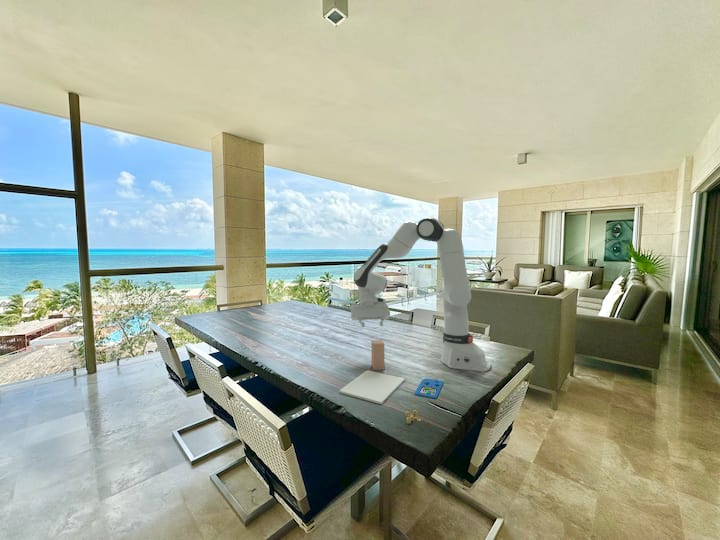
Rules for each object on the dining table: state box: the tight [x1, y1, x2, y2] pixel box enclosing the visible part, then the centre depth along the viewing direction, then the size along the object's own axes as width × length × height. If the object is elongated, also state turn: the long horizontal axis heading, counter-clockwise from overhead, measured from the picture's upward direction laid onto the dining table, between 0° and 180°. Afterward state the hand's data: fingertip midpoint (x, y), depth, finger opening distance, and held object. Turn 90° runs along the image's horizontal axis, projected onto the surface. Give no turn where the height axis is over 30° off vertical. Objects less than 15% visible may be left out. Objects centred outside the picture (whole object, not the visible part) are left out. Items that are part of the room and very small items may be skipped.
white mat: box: [338, 370, 406, 405], centre depth 117 cm, size 18×22×1 cm
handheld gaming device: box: [413, 378, 444, 400], centre depth 115 cm, size 8×1×15 cm
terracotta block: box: [371, 339, 386, 371], centre depth 136 cm, size 5×5×12 cm
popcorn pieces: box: [405, 409, 422, 425], centre depth 94 cm, size 5×5×2 cm
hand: (372, 325), depth 147 cm, fingers open, 8 cm apart
